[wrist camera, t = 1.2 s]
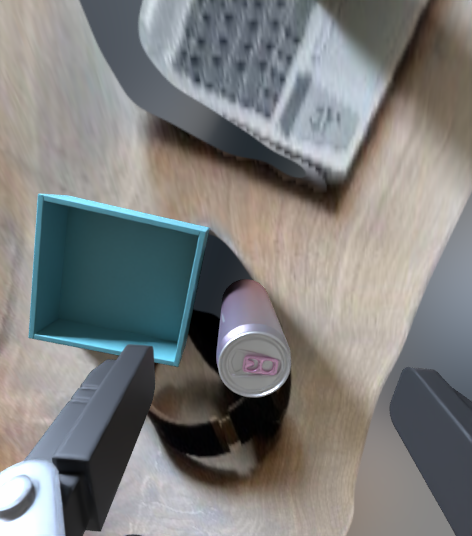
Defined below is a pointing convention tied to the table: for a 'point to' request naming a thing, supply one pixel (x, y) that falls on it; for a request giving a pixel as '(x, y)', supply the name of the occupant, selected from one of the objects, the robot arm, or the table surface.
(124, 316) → the box
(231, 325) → the beverage can
